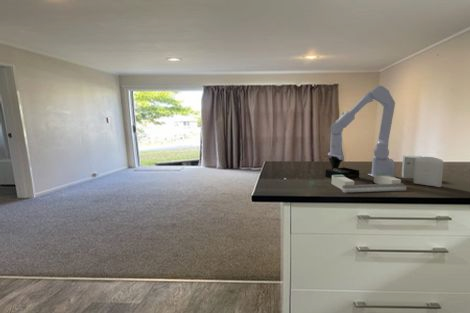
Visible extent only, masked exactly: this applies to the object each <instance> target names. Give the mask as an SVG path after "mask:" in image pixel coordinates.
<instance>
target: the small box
mask: <svg viewBox="0 0 470 313" xmlns="http://www.w3.org/2000/svg"><path fill="white" fill-rule="evenodd" d="M419 157H423V156H422V155H402V163H401V178H403V179H413V180H414V168H415V160H416V158H419Z"/></svg>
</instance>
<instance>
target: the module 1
mask: <svg viewBox="0 0 470 313" xmlns="http://www.w3.org/2000/svg"><path fill="white" fill-rule="evenodd" d="M331 185H333V186H335V187H336V188H338V189H340V190H342V186H343V185H355V180H353V179H348V178H346V177H345V176H344V175H332V178H331Z"/></svg>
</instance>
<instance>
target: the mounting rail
mask: <svg viewBox="0 0 470 313" xmlns="http://www.w3.org/2000/svg"><path fill="white" fill-rule="evenodd" d="M341 191H342V192H343V193H345V194H346V193H367V192H368V193H369V192H373V193H375V192H397V191H399V192H400V191H401V192H402V191H407V186H406V185H405V183H403V182H401V183H400V184H376V183H374V184H373V183H372V184H371V183H370V184H354V185H343V186H342V189H341Z"/></svg>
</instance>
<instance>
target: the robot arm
mask: <svg viewBox="0 0 470 313" xmlns="http://www.w3.org/2000/svg"><path fill="white" fill-rule="evenodd" d="M374 100H375V101H377V102H379V104H380V105H381V106H382V107H383V109H382V116H381V121H380V125H379V126H380V127H379V133H378V138H377V143H376V146H375V147H374V149H373V153H374V156H373V157H372V160H371V162H372V164H371V173H367V175H368V176H370V177H372V178H374V174H379V173H385V174H388V176H391V177H394V178H396V177H395V161H394V159H392V158H389V156H390V155H389V154H390V150H389V141H390V140H389V139H390V134H391V129H392V124H393V119H394V118H393V117H394V113H395V107H396V102H395V100H394V98H393V96H392V95H391V93H390V91H389V89H387V88H386V87H385V86H383V85H377V86H375V87H373V89H372V90H369V91H368V92H367V93H366V94H365V95H364V96H363V97H362V98H361V99H360V100H359V101H358V102H357V103H356V104H355V105H354V106H353V107H352V108H351V109H350V110H346V111H343V112H341V116H340V117H339V118H337V119H336V120H335V121H334V122H333V123H332V124H331V126H330V128H329V129H330V138H329V139H330V142H329V146H330V147H329V152H327V156H328V160H329V162H330V166H331V169H334V168H340V164H341V163H342V161H344V160H345V155H343V154H342V149H343V137H342V136H343V131H344V129H345V128H347V127H348V126H349V125H350V124H351V123H352V122H353V121H354V120H355V118H356V117H355V116H356V115H357V113H358V112H360V111H361V110H362V109H363V108H364V107H365V106H366V105H368V104H370V103H372V102H374Z"/></svg>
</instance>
